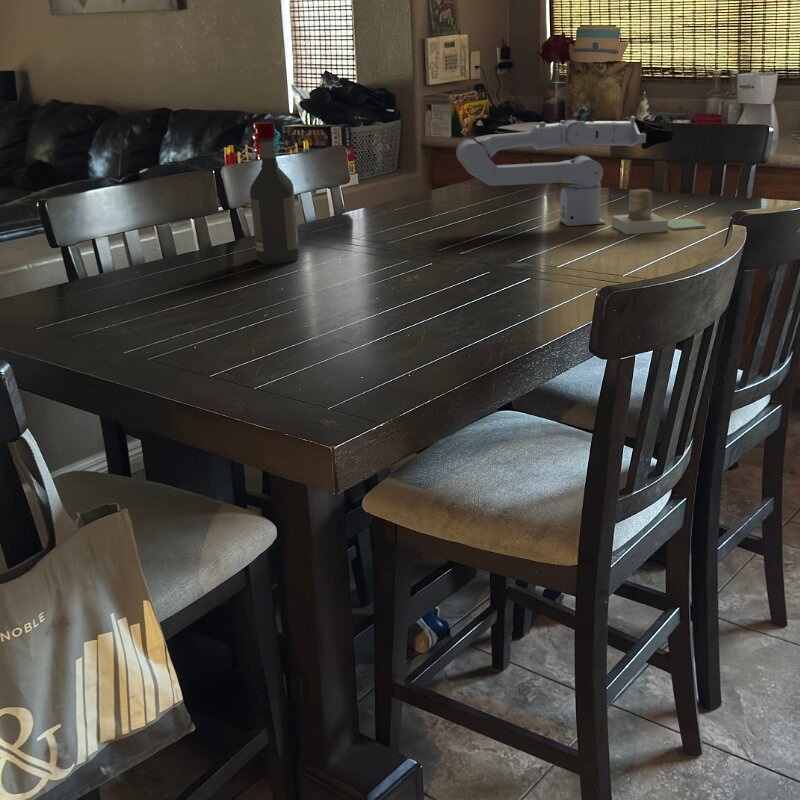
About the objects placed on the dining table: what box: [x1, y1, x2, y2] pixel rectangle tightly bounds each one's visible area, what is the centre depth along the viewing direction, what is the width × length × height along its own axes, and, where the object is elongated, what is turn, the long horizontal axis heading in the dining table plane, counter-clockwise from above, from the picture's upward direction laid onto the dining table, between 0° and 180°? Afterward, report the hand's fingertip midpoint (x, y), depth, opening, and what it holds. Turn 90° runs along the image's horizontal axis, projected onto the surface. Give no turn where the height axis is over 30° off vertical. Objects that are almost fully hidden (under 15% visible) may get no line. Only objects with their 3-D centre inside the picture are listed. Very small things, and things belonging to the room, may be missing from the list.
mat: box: [667, 218, 707, 231], centre depth 236 cm, size 8×9×1 cm
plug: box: [628, 188, 653, 221], centre depth 233 cm, size 4×4×9 cm
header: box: [611, 212, 669, 235], centre depth 235 cm, size 10×10×2 cm
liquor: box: [249, 121, 300, 265], centre depth 219 cm, size 9×9×30 cm
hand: (667, 133), depth 238 cm, fingers open, 7 cm apart
